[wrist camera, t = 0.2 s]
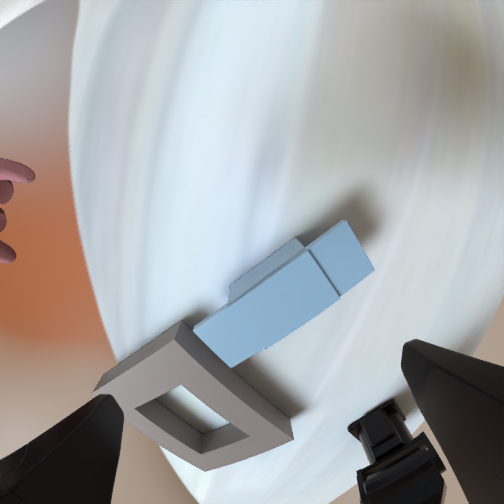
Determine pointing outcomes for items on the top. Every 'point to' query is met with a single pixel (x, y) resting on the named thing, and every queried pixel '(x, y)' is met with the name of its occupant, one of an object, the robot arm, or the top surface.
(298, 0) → the top surface
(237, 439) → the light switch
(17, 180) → the video game controller
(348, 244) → the light blue bar
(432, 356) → the robot arm
